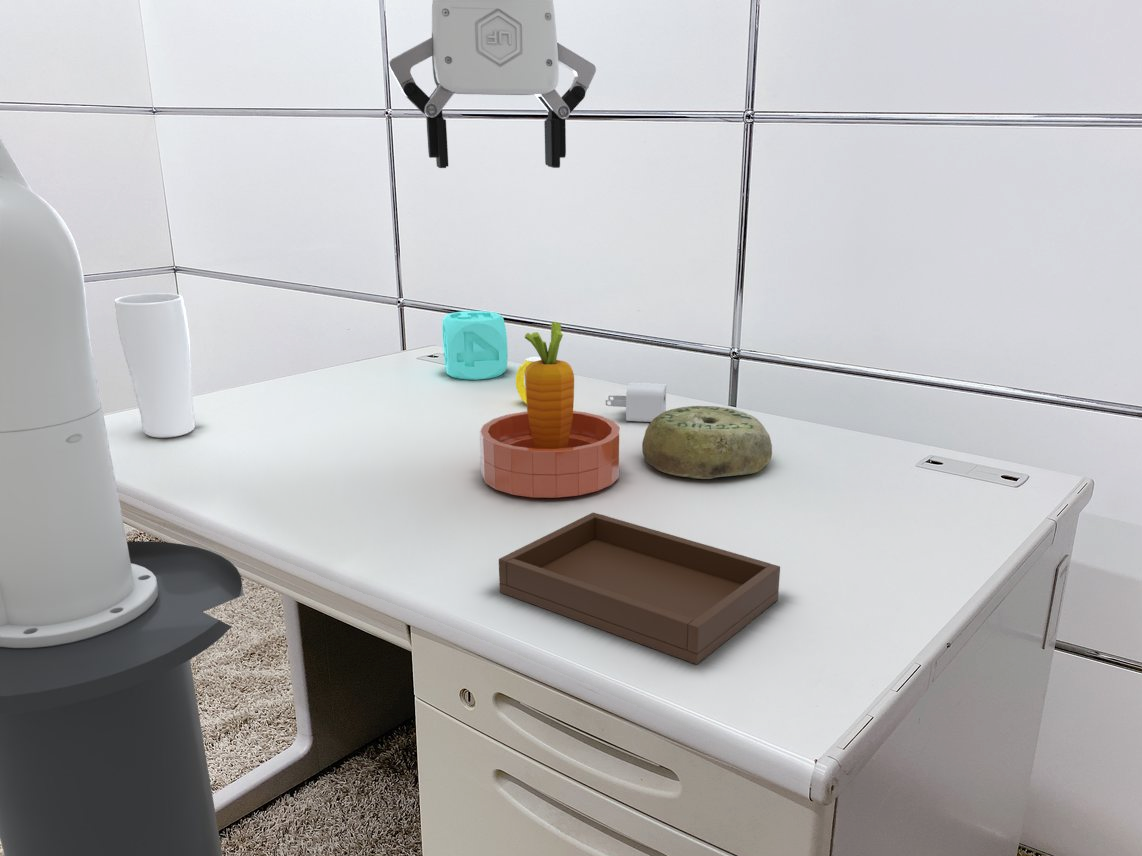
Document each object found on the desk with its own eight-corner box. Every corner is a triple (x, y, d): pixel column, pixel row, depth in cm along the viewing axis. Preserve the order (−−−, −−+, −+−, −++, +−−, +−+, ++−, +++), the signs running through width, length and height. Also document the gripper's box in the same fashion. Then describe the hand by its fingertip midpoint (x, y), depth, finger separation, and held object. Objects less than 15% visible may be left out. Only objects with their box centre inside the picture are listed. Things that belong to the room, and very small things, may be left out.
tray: (499, 592, 74) (498, 558, 73) (593, 542, 83) (592, 511, 82) (696, 664, 64) (698, 627, 64) (778, 599, 73) (780, 566, 72)
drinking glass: (128, 431, 110) (104, 297, 104) (190, 419, 114) (170, 290, 109) (148, 445, 105) (124, 306, 100) (212, 433, 109) (193, 299, 104)
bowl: (525, 512, 89) (524, 460, 87) (459, 470, 99) (456, 423, 97) (646, 483, 96) (646, 435, 95) (572, 447, 107) (572, 403, 105)
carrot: (539, 484, 94) (536, 331, 89) (517, 469, 98) (513, 322, 93) (584, 476, 97) (584, 326, 92) (561, 461, 101) (559, 317, 96)
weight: (778, 448, 107) (781, 404, 106) (760, 490, 95) (763, 441, 93) (659, 436, 111) (660, 394, 109) (627, 475, 98) (627, 428, 97)
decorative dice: (508, 378, 134) (506, 320, 131) (449, 381, 132) (446, 322, 129) (500, 364, 141) (498, 309, 139) (444, 367, 139) (440, 311, 136)
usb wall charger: (662, 424, 115) (663, 391, 114) (604, 421, 116) (604, 388, 114) (665, 414, 119) (666, 382, 117) (609, 411, 120) (609, 380, 118)
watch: (564, 406, 121) (564, 359, 119) (551, 411, 119) (550, 364, 117) (526, 399, 124) (525, 353, 122) (512, 404, 122) (511, 357, 120)
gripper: (382, -69, 73) (399, 169, 79) (605, -56, 78) (605, 169, 84) (377, -54, 80) (393, 165, 86) (583, -43, 85) (585, 164, 91)
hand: (498, 167), depth 85 cm, fingers open, 9 cm apart
